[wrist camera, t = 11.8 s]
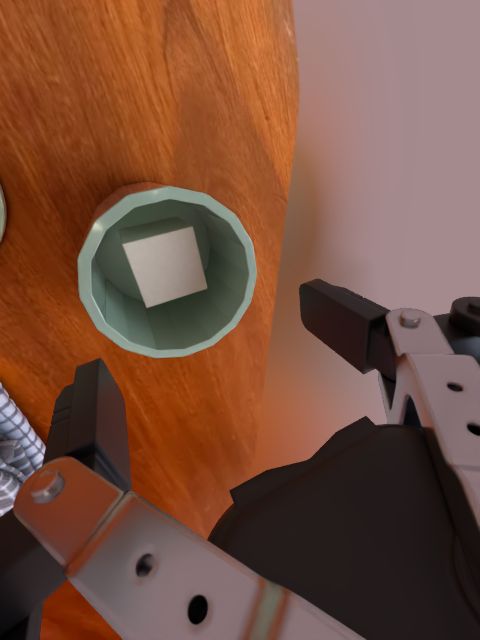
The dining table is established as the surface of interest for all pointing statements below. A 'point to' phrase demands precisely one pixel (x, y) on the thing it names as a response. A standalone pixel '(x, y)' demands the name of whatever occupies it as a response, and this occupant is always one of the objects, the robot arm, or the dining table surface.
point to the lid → (2, 214)
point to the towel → (16, 451)
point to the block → (164, 259)
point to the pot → (178, 314)
